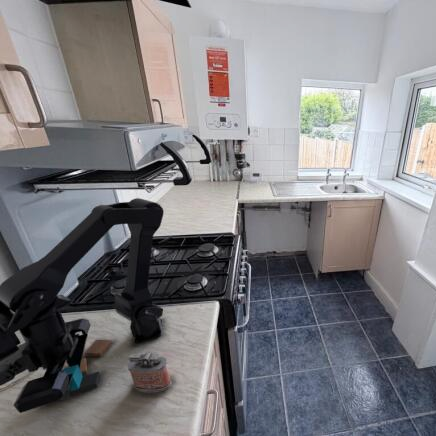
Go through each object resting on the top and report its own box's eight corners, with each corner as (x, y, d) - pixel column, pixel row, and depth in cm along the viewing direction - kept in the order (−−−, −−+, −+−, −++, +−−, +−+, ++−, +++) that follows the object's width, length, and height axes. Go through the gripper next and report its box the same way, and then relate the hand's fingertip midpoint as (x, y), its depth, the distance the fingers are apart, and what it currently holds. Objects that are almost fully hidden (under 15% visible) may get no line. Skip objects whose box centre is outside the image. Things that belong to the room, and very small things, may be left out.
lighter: (174, 377, 56) (167, 348, 52) (167, 392, 53) (159, 362, 49) (139, 377, 56) (130, 348, 52) (131, 392, 53) (120, 362, 49)
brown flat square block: (112, 343, 64) (110, 339, 63) (101, 356, 60) (99, 353, 60) (97, 342, 64) (95, 339, 63) (85, 356, 60) (84, 353, 60)
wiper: (100, 375, 56) (94, 359, 54) (97, 387, 53) (90, 371, 51) (51, 391, 52) (42, 375, 50) (45, 405, 50) (35, 388, 48)
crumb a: (87, 360, 59) (85, 357, 58) (87, 373, 56) (85, 370, 56) (65, 370, 57) (64, 367, 56) (64, 383, 54) (63, 380, 53)
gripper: (16, 311, 50) (42, 360, 56) (-53, 397, 35) (-6, 452, 41) (81, 297, 55) (99, 344, 61) (46, 368, 40) (75, 422, 46)
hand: (71, 383), depth 52 cm, fingers open, 6 cm apart
